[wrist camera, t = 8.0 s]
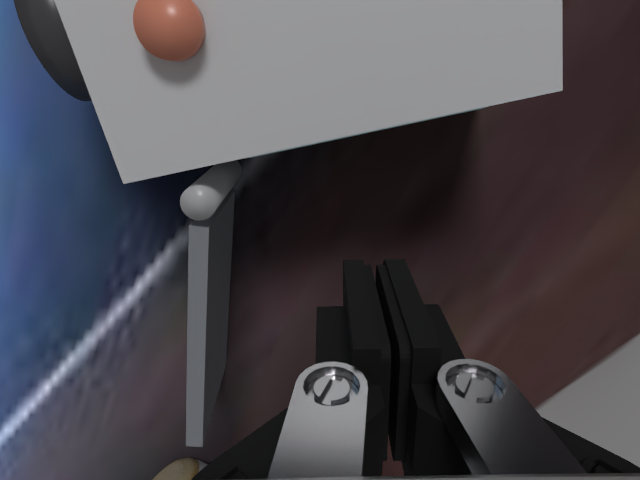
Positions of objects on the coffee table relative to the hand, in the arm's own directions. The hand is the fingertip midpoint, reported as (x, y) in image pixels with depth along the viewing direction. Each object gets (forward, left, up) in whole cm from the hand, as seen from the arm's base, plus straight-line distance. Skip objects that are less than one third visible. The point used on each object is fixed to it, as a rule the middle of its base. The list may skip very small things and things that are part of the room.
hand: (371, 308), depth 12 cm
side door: (+7, +2, -10) cm, 12 cm away
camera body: (0, -8, -10) cm, 13 cm away
